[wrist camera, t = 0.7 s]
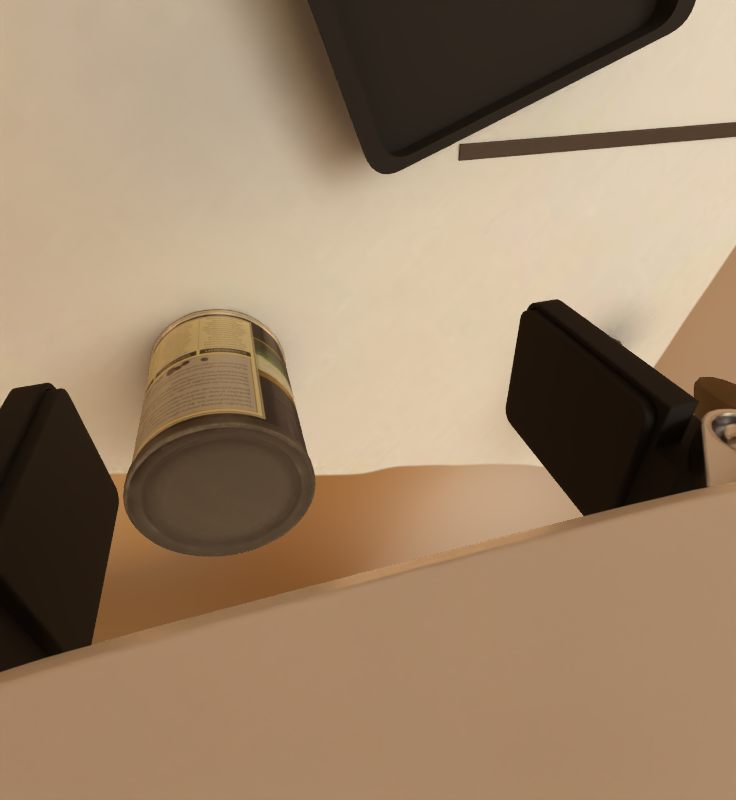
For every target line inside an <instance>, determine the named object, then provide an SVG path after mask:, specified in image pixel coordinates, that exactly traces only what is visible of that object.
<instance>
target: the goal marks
mask: <svg viewBox="0 0 736 800" xmlns="http://www.w3.org/2000/svg"><path fill="white" fill-rule="evenodd" d="M726 137H736V122H734V123H721V124H709V125H696V126H684V127H671V128H659V129H646V130H634V131H621V132H608V133H596V134H583V135H571V136H558V137H546V138H533V139H521V140H508V141H496V142H483V143H471V144H460V152H459V161H460V160H472V159H483V158H495V157H506V156H518V155H529V154H541V153H552V152H564V151H576V150H587V149H599V148H610V147H622V146H633V145H645V144H656V143H668V142H679V141H691V140H703V139H714V138H726Z"/></svg>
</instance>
